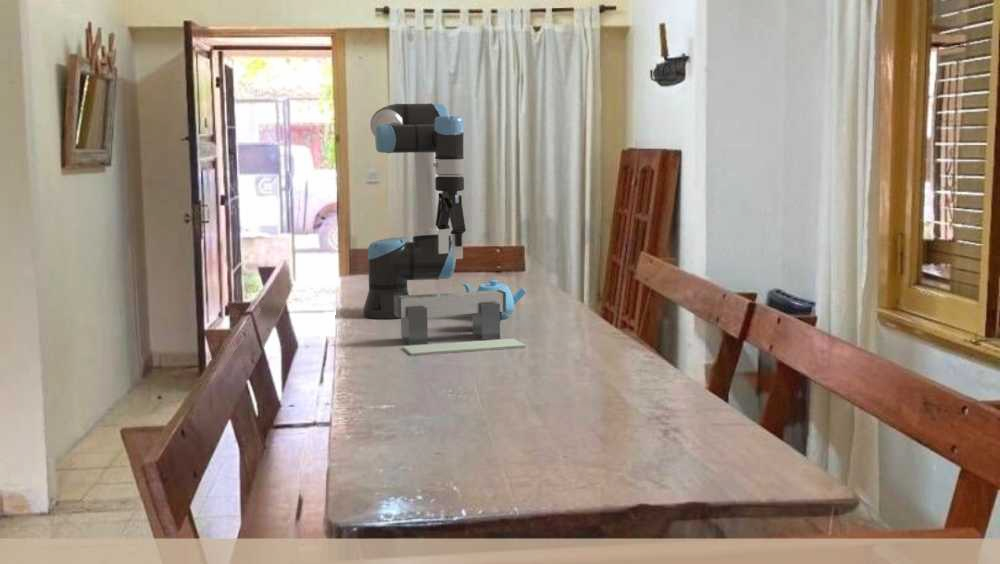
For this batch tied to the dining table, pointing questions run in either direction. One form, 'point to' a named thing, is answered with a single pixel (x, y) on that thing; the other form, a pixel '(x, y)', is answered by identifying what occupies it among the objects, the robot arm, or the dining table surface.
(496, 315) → the post
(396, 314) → the rail
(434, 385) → the dining table surface
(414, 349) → the mat
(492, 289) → the teapot
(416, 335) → the post
